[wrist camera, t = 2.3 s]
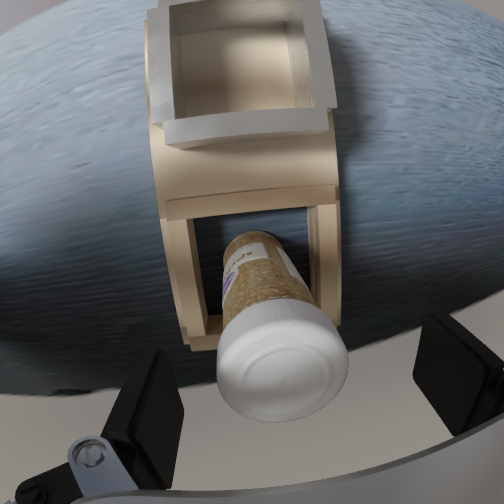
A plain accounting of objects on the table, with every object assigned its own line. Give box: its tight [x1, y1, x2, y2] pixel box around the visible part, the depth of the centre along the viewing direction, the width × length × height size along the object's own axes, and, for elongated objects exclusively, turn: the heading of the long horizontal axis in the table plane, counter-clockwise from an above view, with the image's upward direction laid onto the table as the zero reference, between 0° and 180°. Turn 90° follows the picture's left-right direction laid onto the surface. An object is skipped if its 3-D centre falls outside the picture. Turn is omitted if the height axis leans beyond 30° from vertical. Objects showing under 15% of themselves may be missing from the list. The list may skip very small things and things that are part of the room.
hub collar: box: [147, 0, 338, 150], centre depth 15 cm, size 9×9×4 cm
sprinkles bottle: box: [217, 231, 349, 422], centre depth 16 cm, size 5×5×14 cm
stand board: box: [145, 20, 341, 351], centre depth 19 cm, size 24×12×3 cm, turn 5°
